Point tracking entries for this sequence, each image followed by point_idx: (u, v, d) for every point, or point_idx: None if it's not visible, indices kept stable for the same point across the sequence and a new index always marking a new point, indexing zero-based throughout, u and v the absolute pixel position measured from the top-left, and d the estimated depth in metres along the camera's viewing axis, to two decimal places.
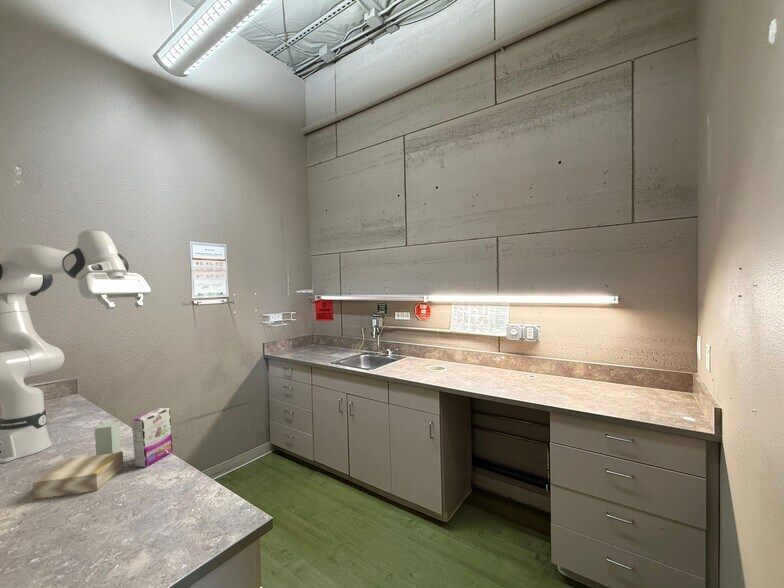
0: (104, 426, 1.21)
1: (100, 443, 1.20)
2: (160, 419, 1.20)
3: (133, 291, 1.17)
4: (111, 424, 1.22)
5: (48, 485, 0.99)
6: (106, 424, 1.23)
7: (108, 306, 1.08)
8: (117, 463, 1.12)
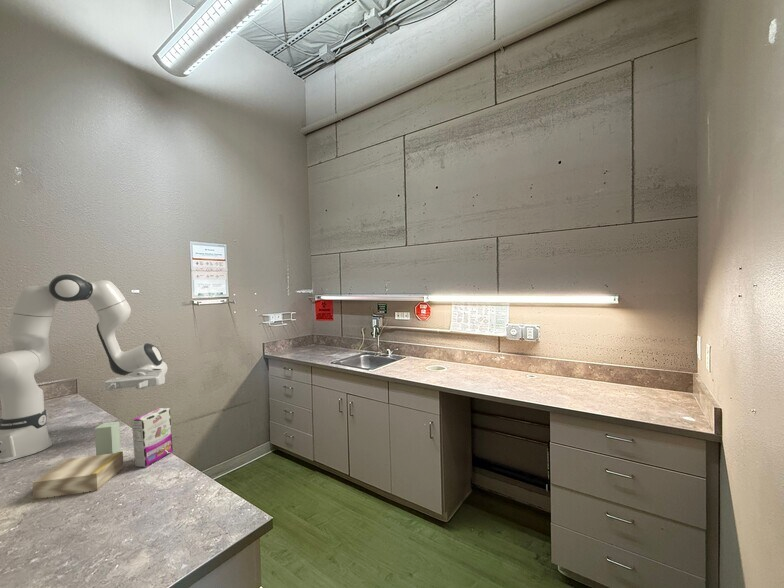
0: (104, 426, 1.21)
1: (100, 443, 1.20)
2: (160, 419, 1.20)
3: (122, 388, 1.38)
4: (111, 424, 1.22)
5: (48, 485, 0.99)
6: (106, 424, 1.23)
7: (140, 386, 1.35)
8: (117, 463, 1.12)
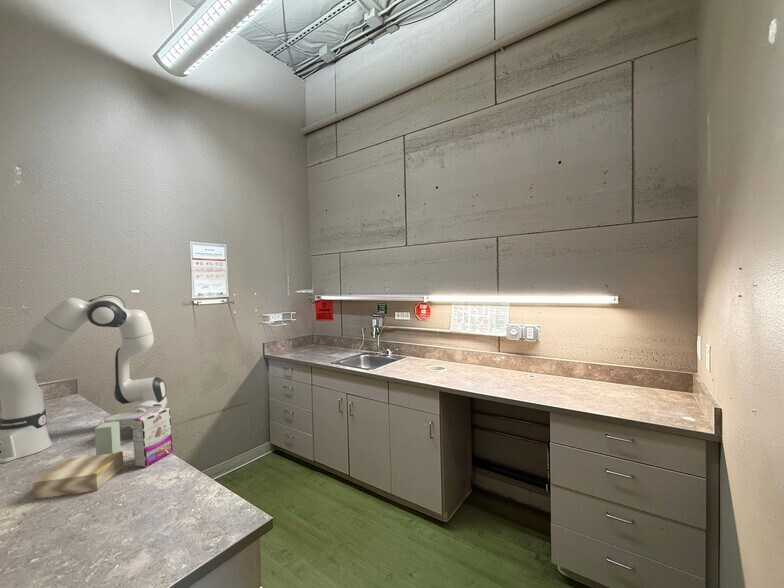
0: (104, 426, 1.21)
1: (100, 443, 1.20)
2: (160, 419, 1.20)
3: (122, 426, 1.37)
4: (111, 424, 1.22)
5: (48, 485, 0.99)
6: (106, 424, 1.23)
7: None
8: (117, 463, 1.12)
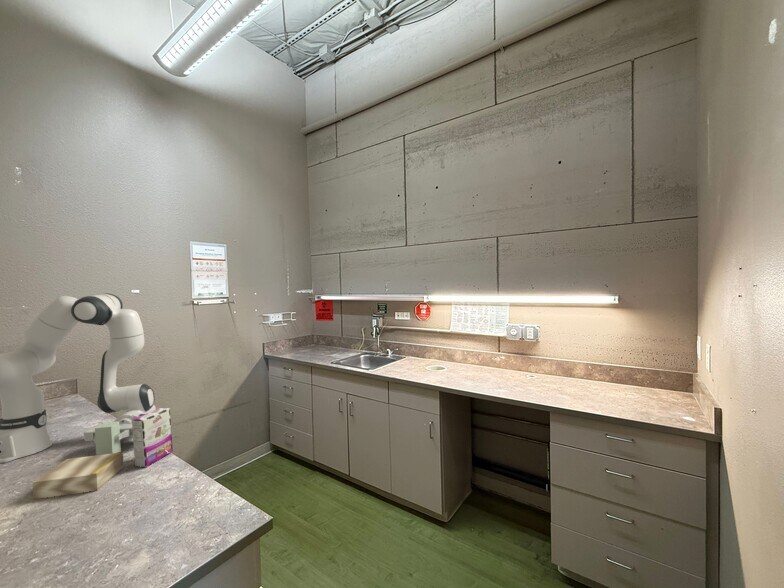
0: (104, 426, 1.21)
1: (100, 443, 1.20)
2: (160, 419, 1.20)
3: None
4: (111, 424, 1.22)
5: (48, 485, 0.99)
6: (106, 424, 1.23)
7: (120, 438, 1.23)
8: (117, 463, 1.12)
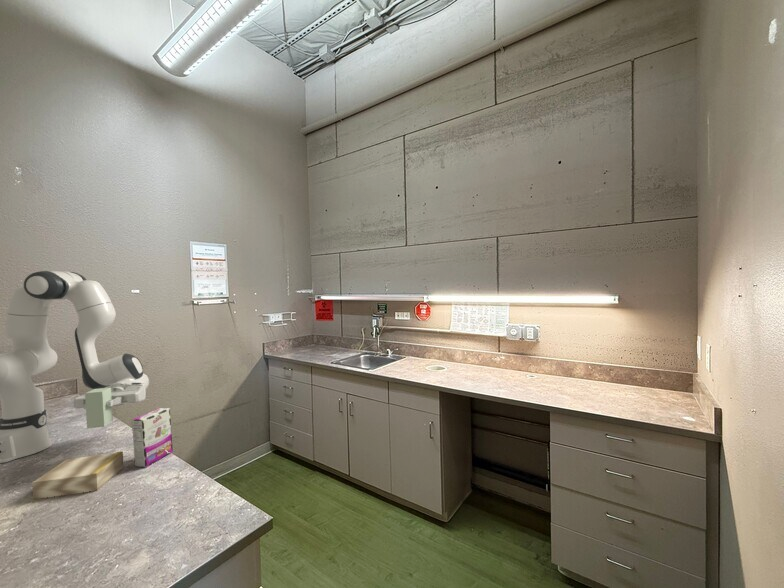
0: (95, 391, 1.16)
1: (91, 408, 1.15)
2: (160, 419, 1.20)
3: None
4: (102, 389, 1.17)
5: (48, 485, 0.99)
6: (97, 390, 1.18)
7: (111, 404, 1.18)
8: (117, 463, 1.12)
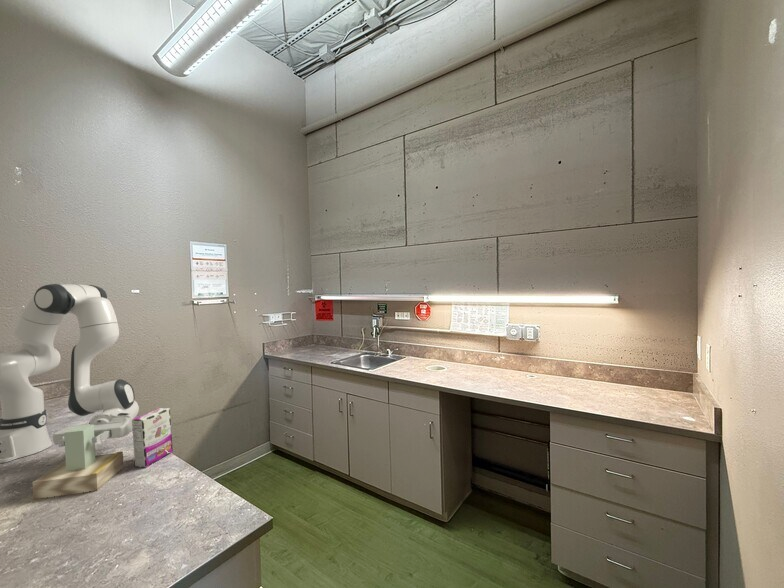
0: (76, 430, 1.05)
1: (70, 449, 1.04)
2: (160, 419, 1.20)
3: None
4: (84, 427, 1.07)
5: (48, 485, 0.99)
6: (78, 427, 1.07)
7: (98, 440, 1.08)
8: (117, 463, 1.12)
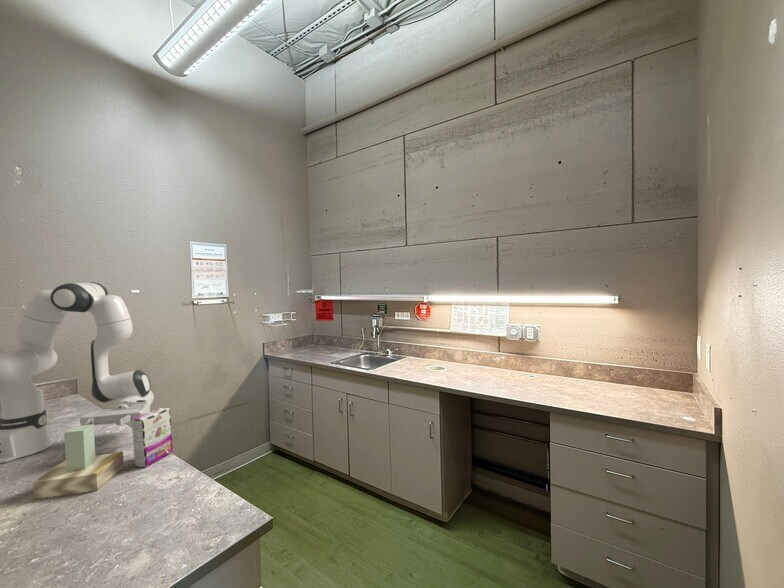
0: (76, 430, 1.05)
1: (70, 449, 1.04)
2: (160, 419, 1.20)
3: (101, 424, 1.23)
4: (84, 427, 1.07)
5: (48, 485, 0.99)
6: (78, 427, 1.07)
7: (121, 423, 1.21)
8: (117, 463, 1.12)
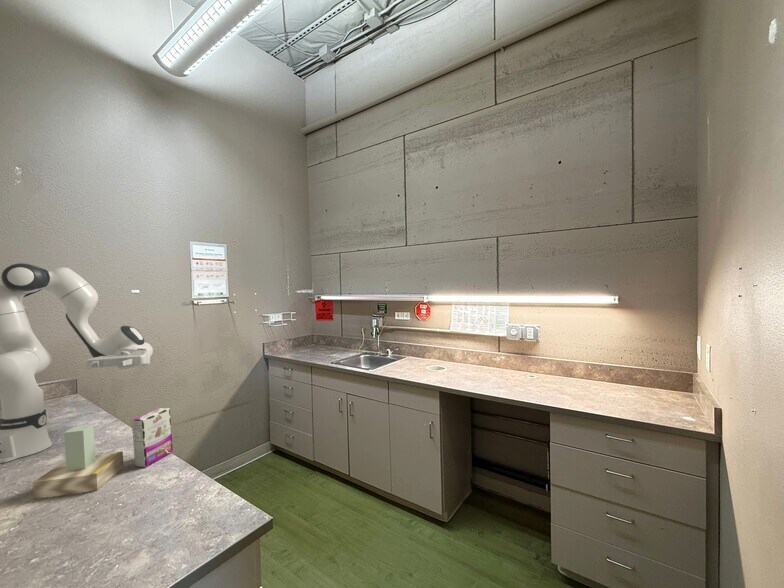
0: (76, 430, 1.05)
1: (70, 449, 1.04)
2: (160, 419, 1.20)
3: None
4: (84, 427, 1.07)
5: (48, 485, 0.99)
6: (78, 427, 1.07)
7: (124, 364, 1.32)
8: (117, 463, 1.12)
